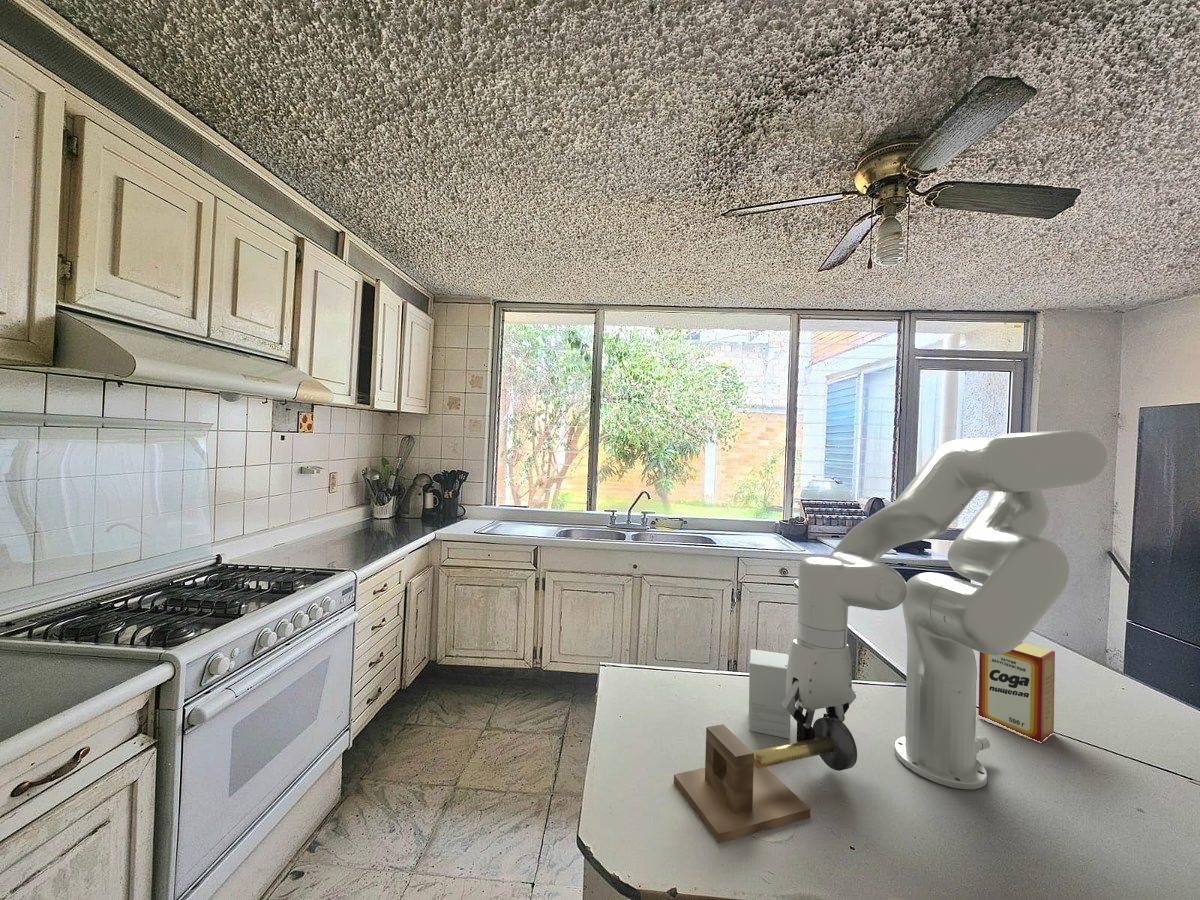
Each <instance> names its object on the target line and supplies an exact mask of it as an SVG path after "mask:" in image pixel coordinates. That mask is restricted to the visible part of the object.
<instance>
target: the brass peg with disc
mask: <svg viewBox="0 0 1200 900" xmlns="http://www.w3.org/2000/svg"><path fill="white" fill-rule="evenodd" d="M812 728H814V739H809V740H804V741H800V742H797V741H796V742H791V743H787V744H782V745H777V746H772V747H771V746H770V747H766V748H763V749H758V750H752V752H754V765H755V766H756V767H757V768H764V767H767V768H768V767H772V766H775V765H779V764H781V765H782V764H785V763H790V762H795V761H798V760H803V759H808V758H811V757H816V756H819V757H820V758H821V760H822V761H823V762H824V763H825V765H826V766H828V768H830V769H832V770H834V771H837V772H838V771H839V772H841V771H844V770H849V769H852V768H853V767H855V765H856V764H857V761H858V748H857V744H856V740H855V738H854V736H853V734H852V732H851V731H850V728H849V727H847V725H846V724H845V723H844V721H843V722H842V721H841V720H839V719H838V718H836V717H832V716H829V717H824V718H823V717H819V718H818V719H815V721H814V722H813V725H812Z"/></svg>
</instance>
